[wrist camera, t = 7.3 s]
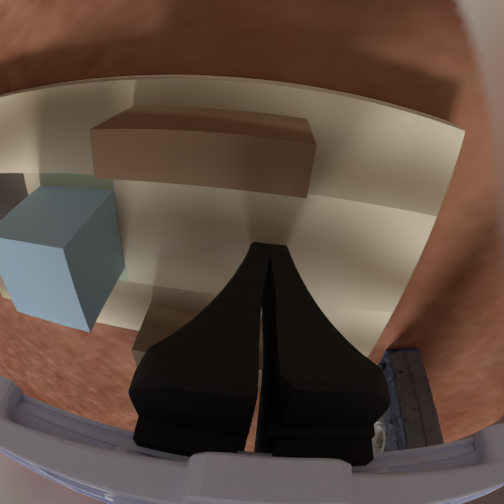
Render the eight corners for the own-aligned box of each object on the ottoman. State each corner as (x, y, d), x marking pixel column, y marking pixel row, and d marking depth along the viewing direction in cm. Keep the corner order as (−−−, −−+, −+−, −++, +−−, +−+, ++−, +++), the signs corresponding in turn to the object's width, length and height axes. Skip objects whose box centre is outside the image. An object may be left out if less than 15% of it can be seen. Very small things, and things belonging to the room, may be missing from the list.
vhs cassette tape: (351, 443, 30) (354, 524, 21) (325, 444, 30) (326, 527, 22) (425, 344, 19) (459, 481, 11) (387, 345, 19) (413, 493, 11)
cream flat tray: (364, 337, 18) (375, 401, 15) (13, 283, 18) (-19, 327, 15) (447, 120, 10) (510, 161, 7) (-35, 103, 11) (-93, 134, 7)
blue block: (124, 268, 14) (90, 332, 11) (57, 256, 14) (17, 311, 11) (113, 190, 12) (62, 248, 9) (40, 185, 12) (-15, 234, 9)
